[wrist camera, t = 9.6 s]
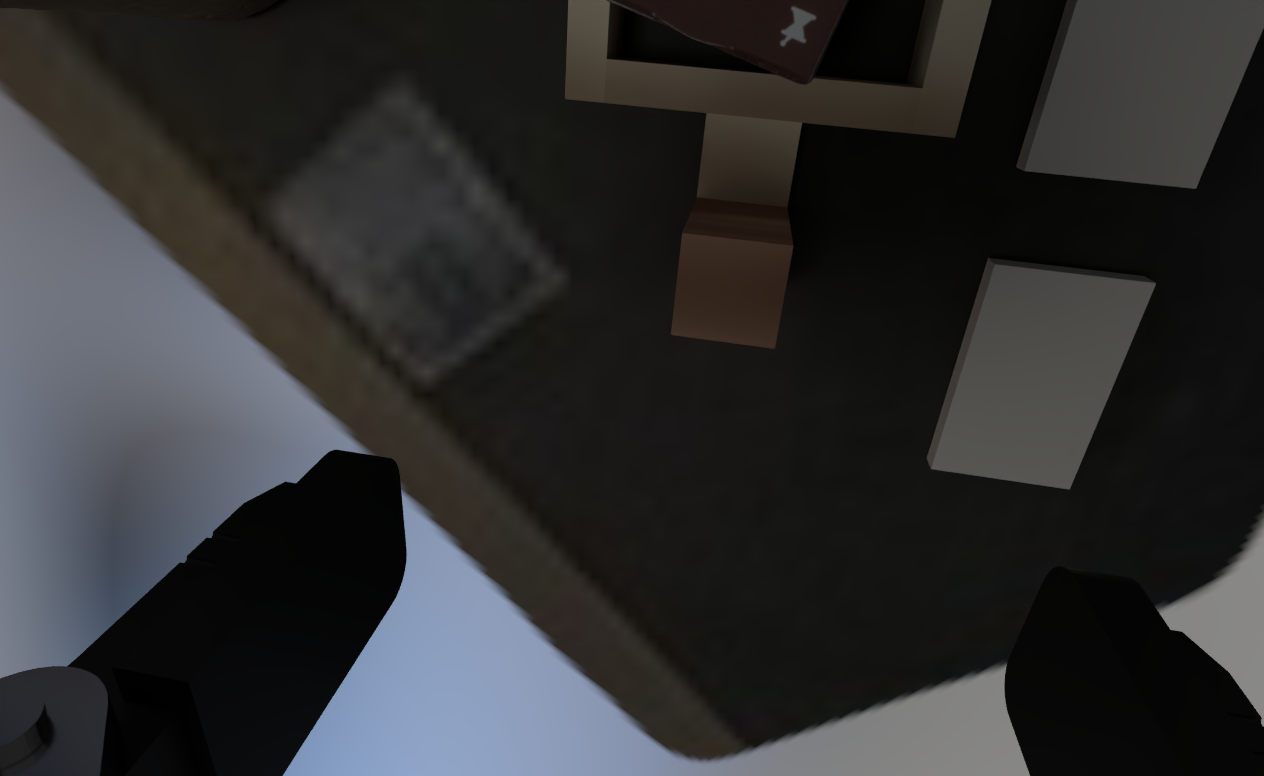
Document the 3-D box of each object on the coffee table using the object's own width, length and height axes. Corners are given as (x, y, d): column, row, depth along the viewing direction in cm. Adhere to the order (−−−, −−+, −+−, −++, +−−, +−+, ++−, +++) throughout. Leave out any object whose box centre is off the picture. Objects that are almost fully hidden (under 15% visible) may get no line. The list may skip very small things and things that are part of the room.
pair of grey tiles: (1095, -93, 20) (1107, -98, 19) (1290, -80, 19) (1310, -84, 19) (926, 457, 28) (930, 468, 27) (1061, 477, 27) (1069, 489, 27)
